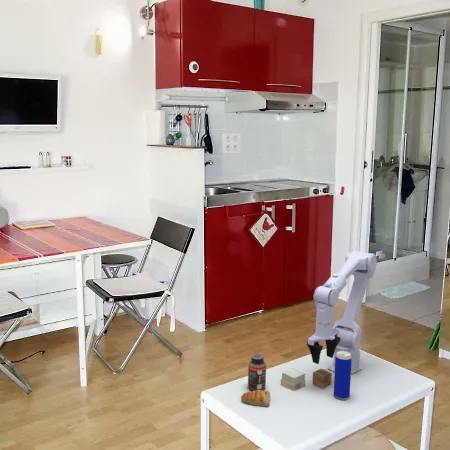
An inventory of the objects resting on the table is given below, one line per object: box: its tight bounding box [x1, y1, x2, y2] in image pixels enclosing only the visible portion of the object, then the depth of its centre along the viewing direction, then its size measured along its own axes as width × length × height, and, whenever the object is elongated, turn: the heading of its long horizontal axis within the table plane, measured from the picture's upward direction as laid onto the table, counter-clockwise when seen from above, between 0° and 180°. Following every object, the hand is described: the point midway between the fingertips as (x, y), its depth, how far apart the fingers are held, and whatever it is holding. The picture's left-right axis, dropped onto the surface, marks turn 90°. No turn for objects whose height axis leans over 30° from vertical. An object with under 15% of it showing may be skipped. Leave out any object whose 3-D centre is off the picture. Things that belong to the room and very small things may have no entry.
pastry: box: [240, 390, 271, 408], centre depth 175 cm, size 9×7×4 cm
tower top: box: [281, 368, 306, 385], centre depth 186 cm, size 6×6×2 cm
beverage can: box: [333, 351, 352, 401], centre depth 178 cm, size 5×5×15 cm
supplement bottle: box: [247, 353, 267, 391], centre depth 183 cm, size 6×6×11 cm
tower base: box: [280, 378, 306, 392], centre depth 186 cm, size 6×6×2 cm
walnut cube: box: [311, 368, 332, 390], centre depth 187 cm, size 4×4×4 cm
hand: (322, 359), depth 186 cm, fingers open, 7 cm apart
